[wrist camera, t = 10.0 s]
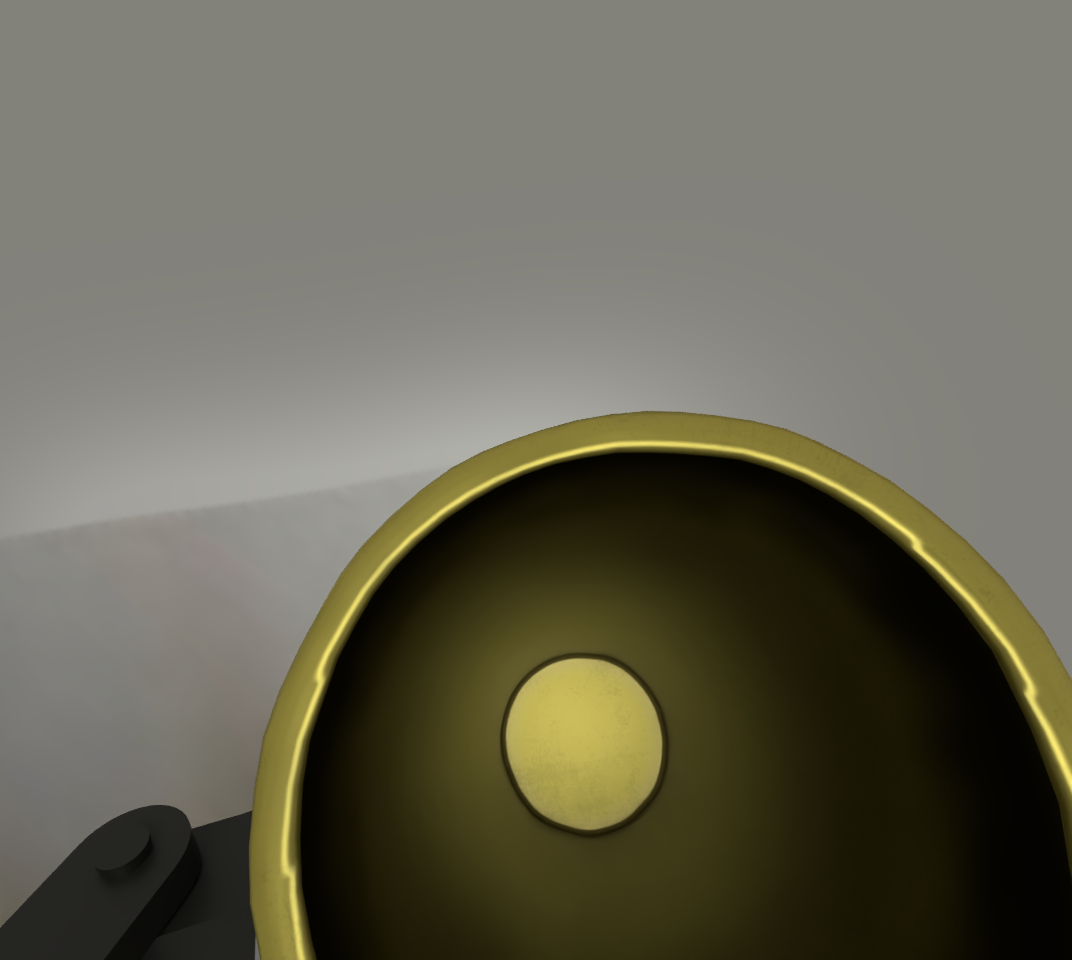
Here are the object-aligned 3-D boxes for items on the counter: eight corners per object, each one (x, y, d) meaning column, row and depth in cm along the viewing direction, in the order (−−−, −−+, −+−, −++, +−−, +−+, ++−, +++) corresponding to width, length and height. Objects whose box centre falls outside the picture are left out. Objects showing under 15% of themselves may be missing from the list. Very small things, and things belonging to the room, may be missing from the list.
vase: (578, 926, 15) (720, 2281, 2) (427, 727, 17) (-24, 746, 4) (742, 748, 17) (1479, 851, 3) (587, 582, 18) (666, 220, 5)
